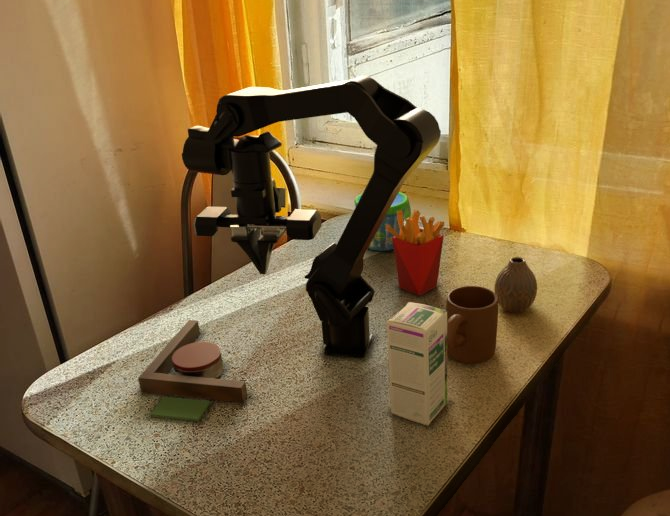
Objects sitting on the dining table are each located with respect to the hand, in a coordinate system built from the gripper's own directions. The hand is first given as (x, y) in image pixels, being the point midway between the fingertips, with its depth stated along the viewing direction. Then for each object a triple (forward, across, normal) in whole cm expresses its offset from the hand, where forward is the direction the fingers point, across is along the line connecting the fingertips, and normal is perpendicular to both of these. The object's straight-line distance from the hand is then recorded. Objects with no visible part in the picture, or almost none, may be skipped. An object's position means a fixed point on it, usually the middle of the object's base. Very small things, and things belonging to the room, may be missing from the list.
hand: (263, 273), depth 106 cm
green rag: (+10, +6, +23) cm, 25 cm away
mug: (+10, -32, +5) cm, 34 cm away
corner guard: (+10, +5, +12) cm, 16 cm away
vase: (+10, -39, -12) cm, 42 cm away
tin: (+10, +7, +14) cm, 18 cm away
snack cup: (+10, -13, -35) cm, 39 cm away
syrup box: (+10, -27, +18) cm, 34 cm away
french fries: (+10, -22, -16) cm, 29 cm away
